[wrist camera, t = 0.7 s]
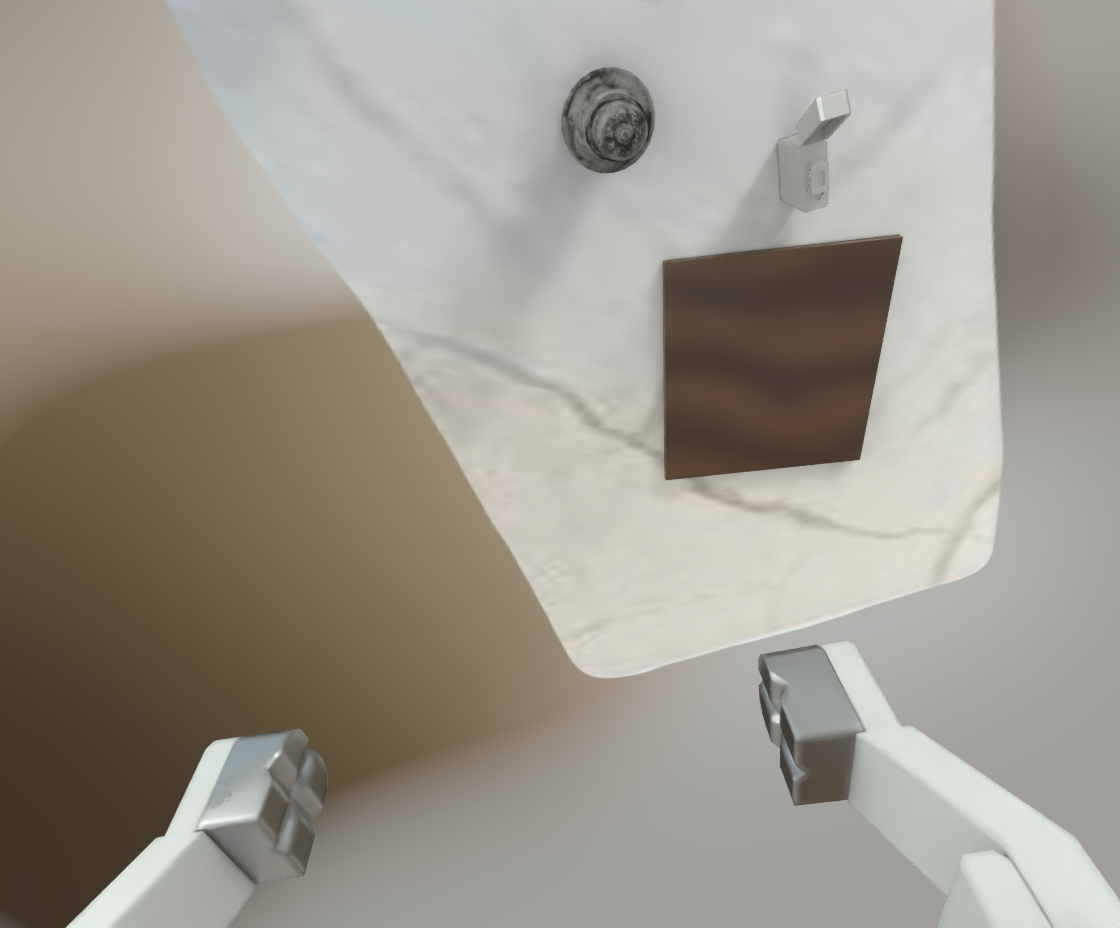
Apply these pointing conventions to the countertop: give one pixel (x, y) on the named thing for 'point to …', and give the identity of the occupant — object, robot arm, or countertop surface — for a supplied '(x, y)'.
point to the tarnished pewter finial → (608, 120)
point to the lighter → (810, 153)
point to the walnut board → (773, 355)
